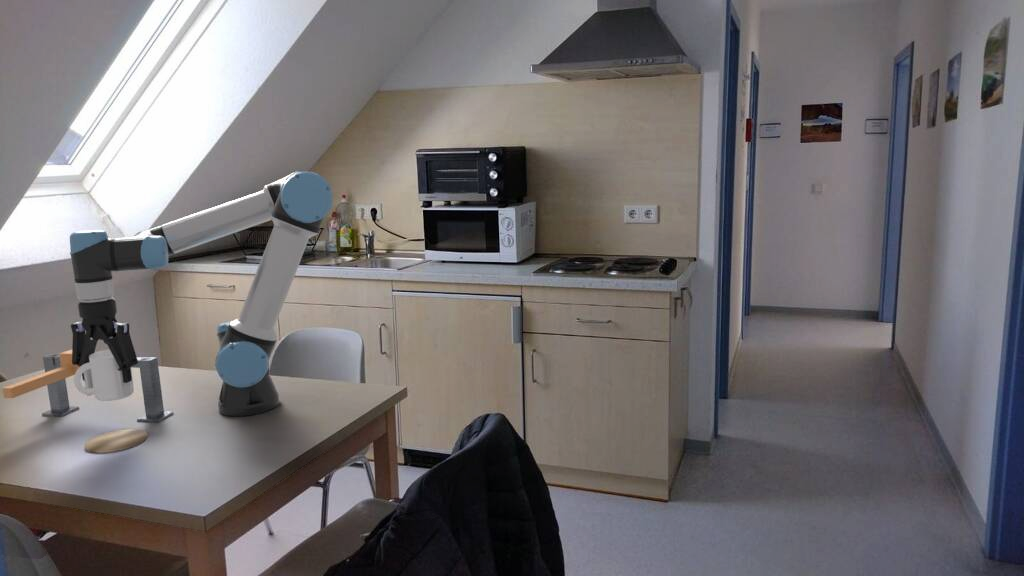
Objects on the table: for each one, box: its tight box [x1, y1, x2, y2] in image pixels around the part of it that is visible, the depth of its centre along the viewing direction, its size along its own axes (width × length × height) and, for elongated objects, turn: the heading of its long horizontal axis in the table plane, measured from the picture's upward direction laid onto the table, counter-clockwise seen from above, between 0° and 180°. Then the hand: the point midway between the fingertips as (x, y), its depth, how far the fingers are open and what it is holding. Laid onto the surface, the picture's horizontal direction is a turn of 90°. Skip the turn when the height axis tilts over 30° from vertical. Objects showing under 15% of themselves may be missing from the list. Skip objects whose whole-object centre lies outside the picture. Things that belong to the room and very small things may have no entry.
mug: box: [73, 348, 135, 402], centre depth 175 cm, size 12×8×10 cm
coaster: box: [84, 428, 148, 454], centre depth 177 cm, size 13×13×1 cm
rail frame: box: [41, 353, 174, 423], centre depth 195 cm, size 35×6×16 cm, turn 77°
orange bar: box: [1, 349, 79, 399], centre depth 187 cm, size 5×23×6 cm, turn 166°
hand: (109, 394), depth 175 cm, fingers closed on mug, 8 cm apart
